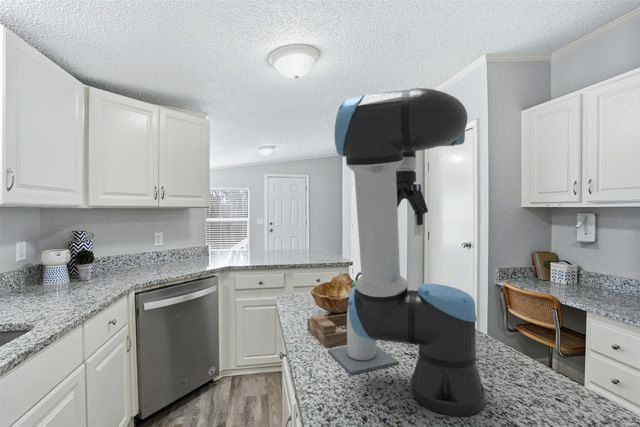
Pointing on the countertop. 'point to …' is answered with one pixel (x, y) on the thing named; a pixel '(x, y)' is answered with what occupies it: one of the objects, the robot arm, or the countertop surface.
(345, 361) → the rubber mat
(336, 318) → the frame
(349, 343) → the milk bottle
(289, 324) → the countertop surface
